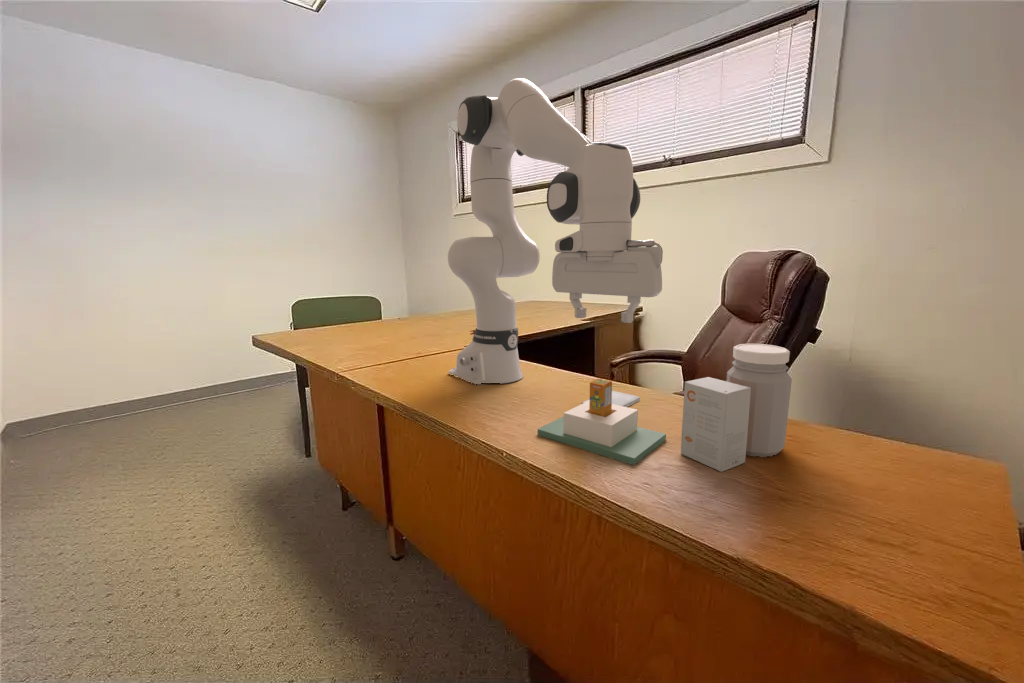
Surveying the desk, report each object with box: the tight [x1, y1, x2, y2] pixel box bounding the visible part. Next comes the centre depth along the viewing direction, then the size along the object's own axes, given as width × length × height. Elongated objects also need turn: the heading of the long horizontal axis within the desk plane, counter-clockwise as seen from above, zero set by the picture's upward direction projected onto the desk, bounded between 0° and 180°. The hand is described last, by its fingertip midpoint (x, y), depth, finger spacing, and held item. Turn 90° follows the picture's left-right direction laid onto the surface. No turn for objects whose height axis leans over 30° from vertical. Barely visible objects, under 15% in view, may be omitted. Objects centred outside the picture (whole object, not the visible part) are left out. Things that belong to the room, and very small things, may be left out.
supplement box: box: [589, 378, 613, 417], centre depth 83 cm, size 3×3×10 cm
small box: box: [680, 376, 751, 473], centre depth 74 cm, size 8×6×13 cm
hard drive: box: [580, 390, 641, 408], centre depth 104 cm, size 2×8×12 cm
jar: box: [725, 343, 793, 458], centre depth 78 cm, size 10×10×18 cm
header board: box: [537, 399, 667, 466], centre depth 84 cm, size 20×13×5 cm, turn 49°
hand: (602, 319), depth 80 cm, fingers open, 8 cm apart
